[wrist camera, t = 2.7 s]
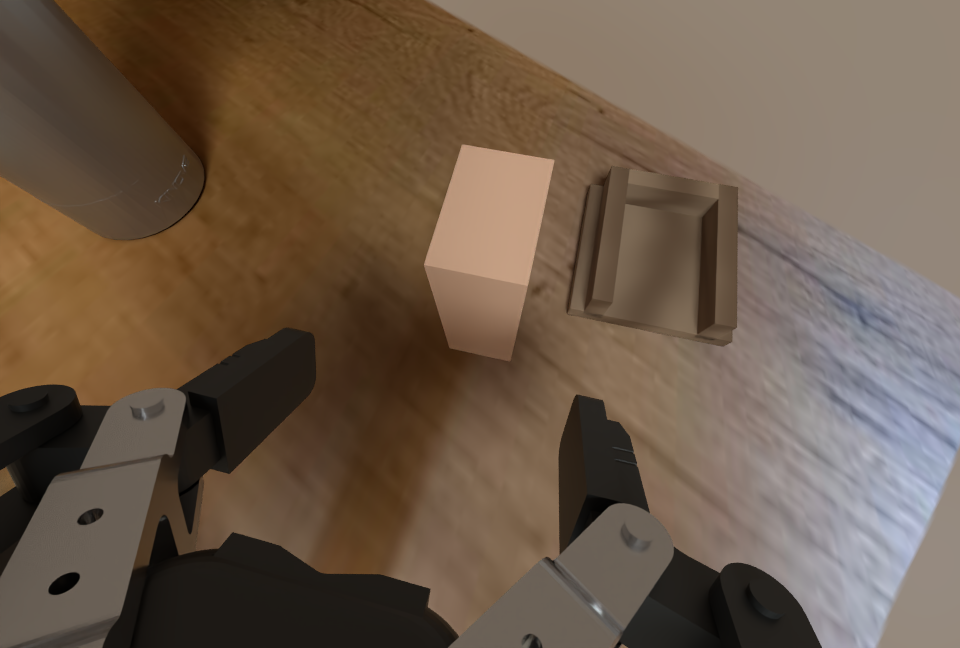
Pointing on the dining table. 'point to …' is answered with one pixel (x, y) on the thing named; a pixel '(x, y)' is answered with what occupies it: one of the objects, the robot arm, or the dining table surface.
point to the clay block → (487, 247)
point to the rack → (659, 256)
